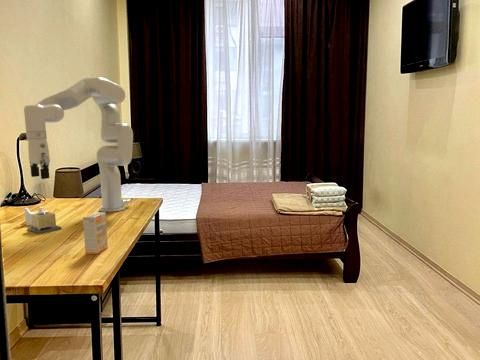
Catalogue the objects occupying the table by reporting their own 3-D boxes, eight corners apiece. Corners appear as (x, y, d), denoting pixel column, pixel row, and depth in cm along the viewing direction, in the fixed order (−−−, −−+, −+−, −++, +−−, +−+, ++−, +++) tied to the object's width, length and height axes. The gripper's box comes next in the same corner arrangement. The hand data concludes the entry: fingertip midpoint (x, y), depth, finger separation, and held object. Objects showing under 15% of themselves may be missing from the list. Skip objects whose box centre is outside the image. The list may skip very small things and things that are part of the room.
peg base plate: (51, 225, 209) (49, 209, 208) (61, 229, 202) (60, 212, 201) (27, 229, 202) (26, 213, 201) (37, 233, 195) (35, 216, 194)
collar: (49, 222, 207) (48, 211, 206) (56, 225, 202) (55, 213, 201) (32, 226, 202) (31, 214, 201) (39, 228, 197) (38, 216, 196)
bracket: (43, 224, 212) (41, 207, 211) (25, 225, 211) (24, 208, 210) (48, 218, 225) (47, 202, 224) (32, 219, 224) (31, 203, 223)
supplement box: (98, 254, 165) (95, 217, 163) (84, 254, 166) (82, 216, 164) (108, 247, 173) (106, 211, 171) (96, 247, 174) (93, 211, 172)
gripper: (54, 135, 193) (58, 178, 196) (37, 134, 205) (40, 174, 208) (35, 137, 188) (39, 180, 190) (18, 135, 200) (22, 176, 203)
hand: (40, 177), depth 199 cm, fingers open, 9 cm apart
